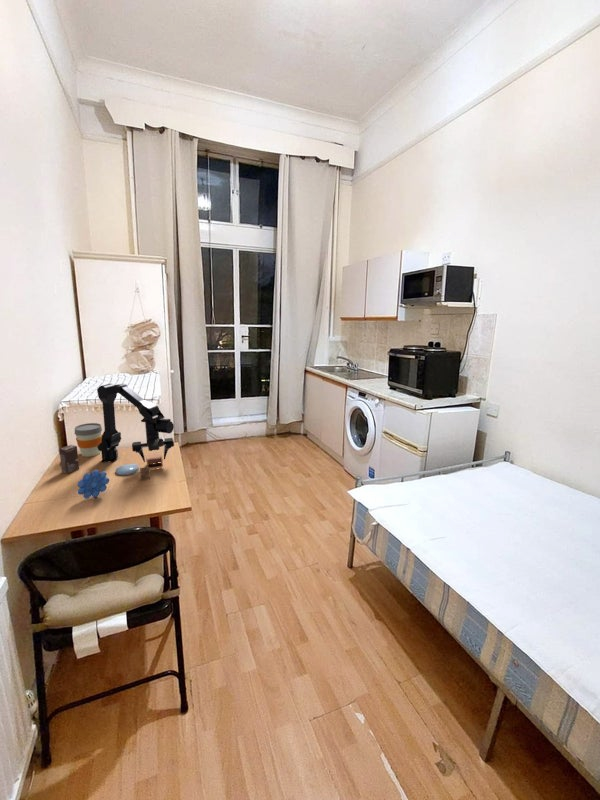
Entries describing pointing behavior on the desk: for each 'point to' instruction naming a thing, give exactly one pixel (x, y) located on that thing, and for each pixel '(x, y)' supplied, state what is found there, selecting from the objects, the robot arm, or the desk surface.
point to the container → (154, 459)
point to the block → (145, 473)
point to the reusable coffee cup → (88, 438)
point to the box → (69, 458)
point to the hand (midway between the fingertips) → (154, 460)
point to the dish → (127, 469)
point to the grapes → (93, 484)
